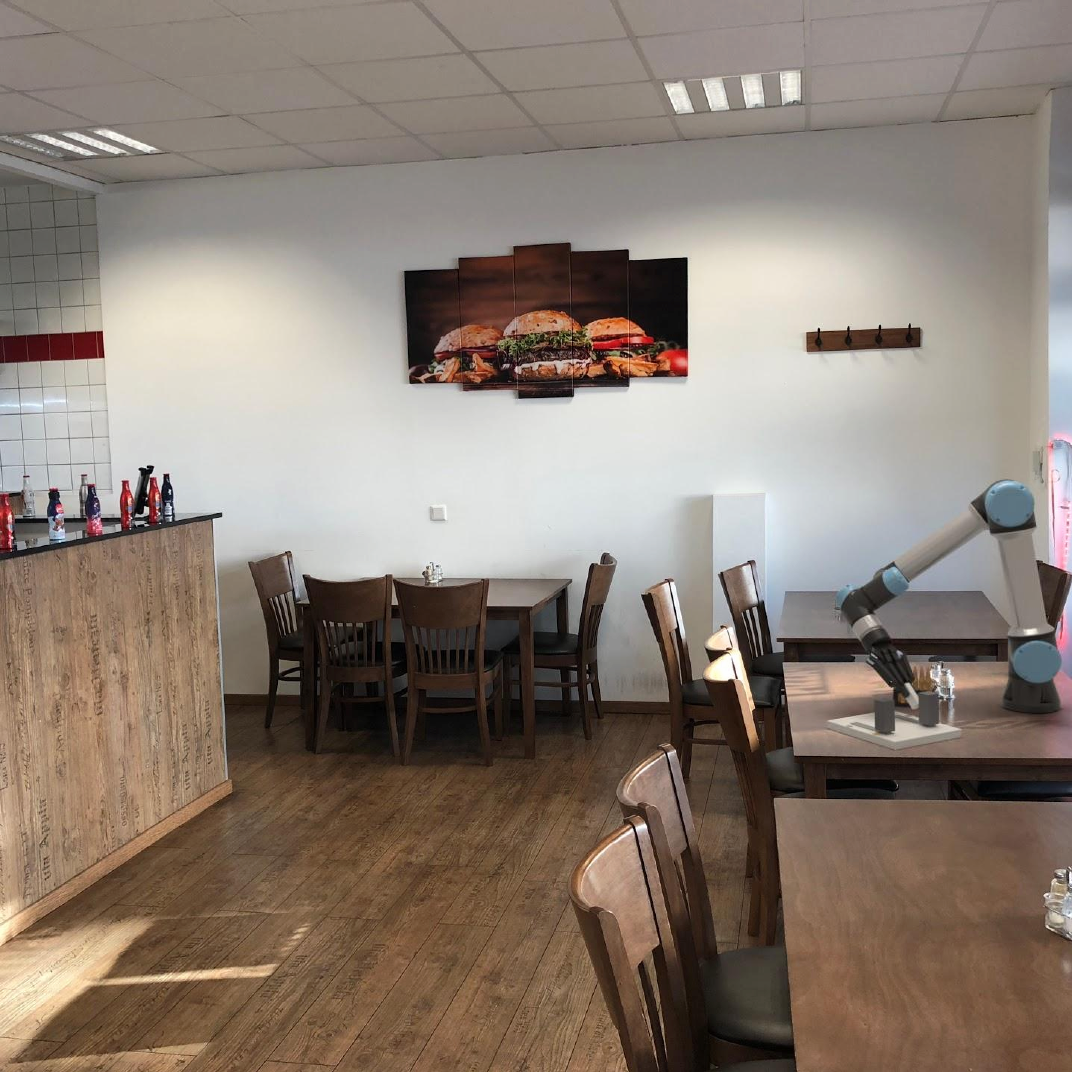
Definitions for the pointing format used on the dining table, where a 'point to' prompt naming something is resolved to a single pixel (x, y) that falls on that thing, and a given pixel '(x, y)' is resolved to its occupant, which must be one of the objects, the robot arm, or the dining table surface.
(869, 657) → the robot arm
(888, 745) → the switch panel
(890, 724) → the block
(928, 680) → the ammunition clip
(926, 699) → the block
